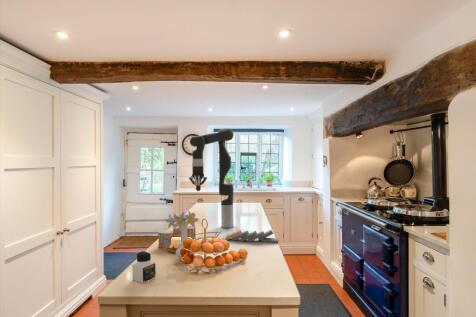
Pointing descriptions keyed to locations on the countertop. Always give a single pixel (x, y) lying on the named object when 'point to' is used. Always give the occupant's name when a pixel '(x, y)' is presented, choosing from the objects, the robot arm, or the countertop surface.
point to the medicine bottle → (144, 267)
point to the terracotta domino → (233, 235)
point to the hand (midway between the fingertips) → (198, 190)
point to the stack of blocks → (174, 235)
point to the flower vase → (182, 226)
